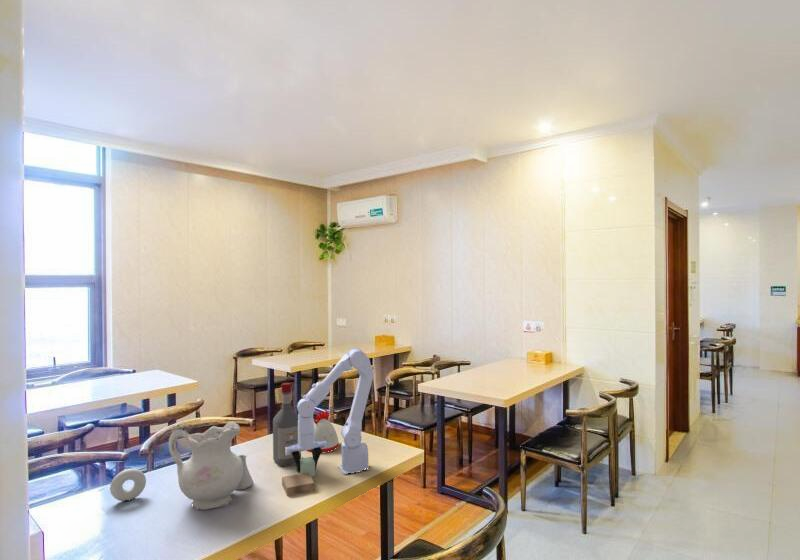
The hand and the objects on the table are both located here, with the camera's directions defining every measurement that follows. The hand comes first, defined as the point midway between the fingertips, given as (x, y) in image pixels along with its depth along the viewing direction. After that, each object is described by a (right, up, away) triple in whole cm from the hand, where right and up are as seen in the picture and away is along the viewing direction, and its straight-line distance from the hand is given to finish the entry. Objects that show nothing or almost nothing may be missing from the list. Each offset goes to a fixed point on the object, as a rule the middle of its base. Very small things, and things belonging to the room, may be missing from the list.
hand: (306, 470), depth 165 cm
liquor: (-10, -2, +12) cm, 16 cm away
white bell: (+1, -2, +27) cm, 27 cm away
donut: (-53, -2, -18) cm, 56 cm away
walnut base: (-1, -2, -10) cm, 10 cm away
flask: (-20, -2, -8) cm, 22 cm away
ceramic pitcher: (-28, -2, -19) cm, 34 cm away
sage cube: (0, -1, 0) cm, 1 cm away
